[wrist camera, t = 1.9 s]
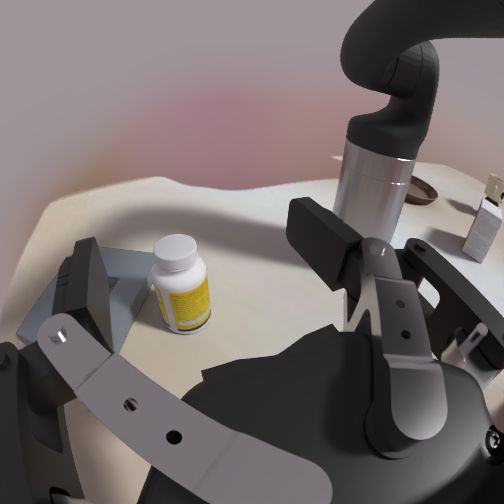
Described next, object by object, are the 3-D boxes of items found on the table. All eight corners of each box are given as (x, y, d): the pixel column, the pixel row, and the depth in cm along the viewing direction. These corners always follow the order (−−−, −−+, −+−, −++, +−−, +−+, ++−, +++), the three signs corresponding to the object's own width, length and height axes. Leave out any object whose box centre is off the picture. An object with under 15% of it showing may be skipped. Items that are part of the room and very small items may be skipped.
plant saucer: (444, 204, 61) (447, 194, 59) (416, 213, 54) (419, 201, 52) (399, 177, 73) (401, 168, 71) (364, 181, 66) (366, 170, 64)
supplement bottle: (219, 308, 31) (215, 237, 25) (195, 343, 27) (182, 273, 21) (180, 293, 32) (168, 224, 26) (154, 324, 28) (133, 254, 22)
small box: (465, 237, 47) (482, 197, 40) (484, 250, 43) (502, 209, 37) (460, 251, 42) (480, 205, 36) (481, 264, 39) (503, 220, 33)
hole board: (85, 254, 37) (81, 244, 36) (162, 265, 36) (159, 253, 35) (23, 343, 23) (15, 333, 22) (107, 379, 22) (100, 370, 21)
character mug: (491, 227, 53) (507, 186, 45) (473, 214, 57) (487, 174, 50) (496, 220, 57) (510, 183, 49) (480, 208, 62) (492, 172, 54)
